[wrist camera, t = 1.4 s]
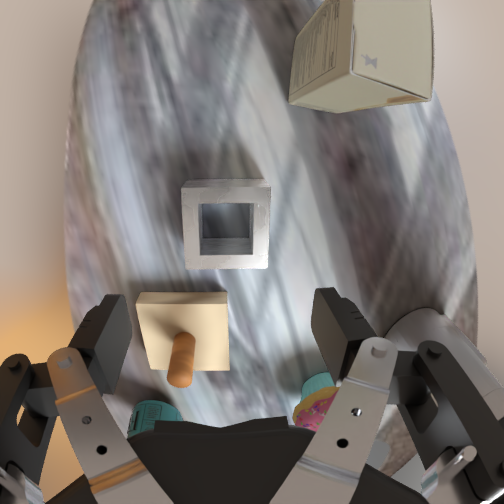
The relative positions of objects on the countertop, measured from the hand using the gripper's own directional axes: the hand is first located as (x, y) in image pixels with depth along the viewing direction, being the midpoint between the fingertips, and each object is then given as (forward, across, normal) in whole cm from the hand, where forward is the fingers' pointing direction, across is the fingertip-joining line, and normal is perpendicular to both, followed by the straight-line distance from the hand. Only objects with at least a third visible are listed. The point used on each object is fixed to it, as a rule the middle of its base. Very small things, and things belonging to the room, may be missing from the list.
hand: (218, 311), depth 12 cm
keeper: (+13, +4, +11) cm, 17 cm away
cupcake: (+13, -11, +21) cm, 27 cm away
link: (+13, 0, 0) cm, 13 cm away
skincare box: (+13, -8, -12) cm, 19 cm away
